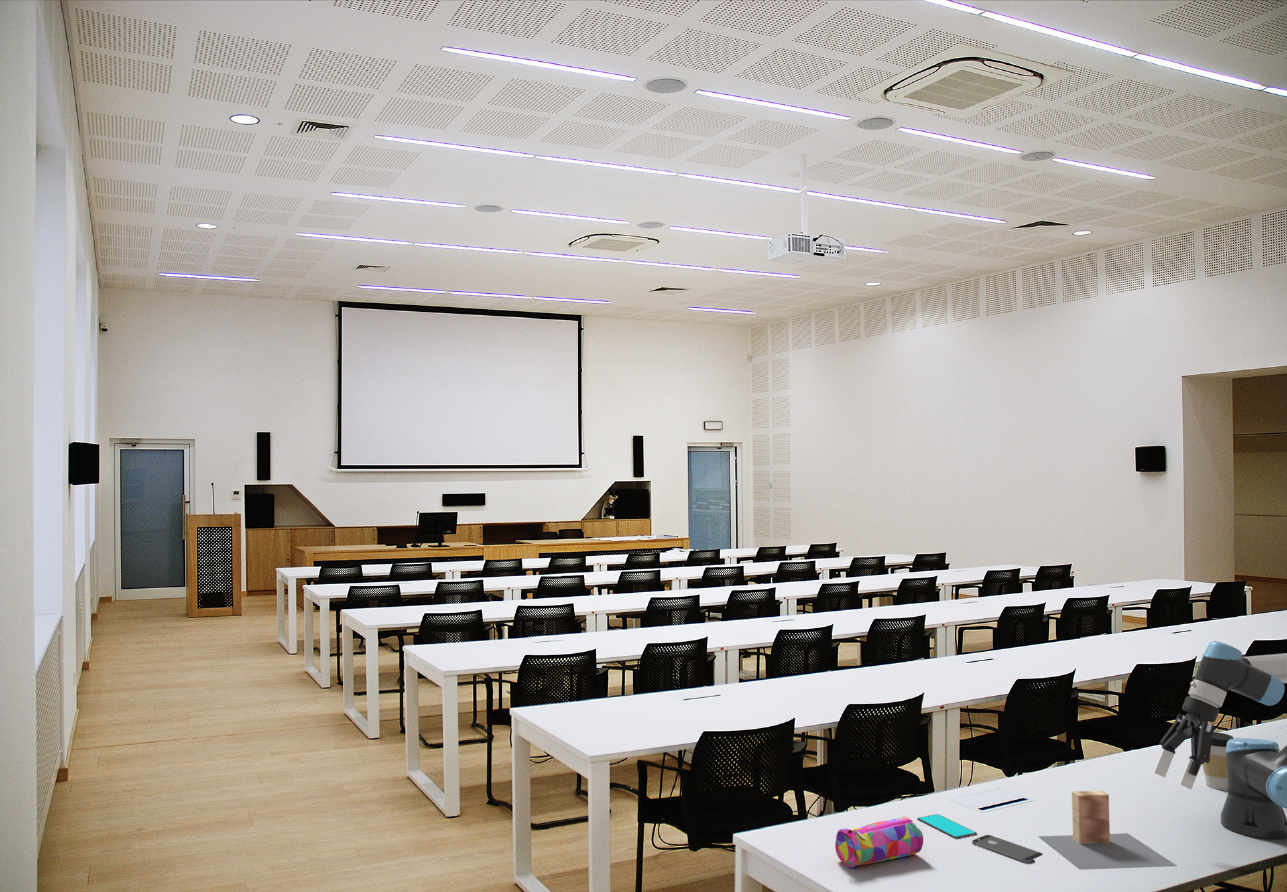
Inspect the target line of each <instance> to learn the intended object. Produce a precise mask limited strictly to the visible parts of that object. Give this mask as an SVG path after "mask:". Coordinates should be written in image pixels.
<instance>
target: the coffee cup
mask: <svg viewBox="0 0 1287 892" xmlns="http://www.w3.org/2000/svg"><path fill="white" fill-rule="evenodd" d="M1230 739H1234V736H1233V735H1231V734H1228V733H1224V732H1215V731H1213V734H1212V743H1211V752H1210V761H1209V763H1204V764H1203V765H1202V770H1203V774H1204V779H1205V784H1206V786H1207V787H1208V788H1211V789H1214V790H1219V789H1220V790H1221V791H1228V786H1227V757H1226V746H1227V742H1228V741H1229V740H1230ZM1204 757H1205V756H1204Z"/></svg>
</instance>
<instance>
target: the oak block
mask: <svg viewBox="0 0 1287 892" xmlns="http://www.w3.org/2000/svg"><path fill="white" fill-rule="evenodd" d="M1071 807H1072V808H1071V809H1072V810H1071V811H1072V815H1071V816H1072V835H1073V840H1075V841H1076V842H1078V843H1079V844H1088V843H1110V834H1111V832H1110V831H1111V829H1110V795H1109V794H1108V793H1107V792H1105V791H1103V790H1082V791H1080V790H1079V791H1078V790H1077V791H1071Z"/></svg>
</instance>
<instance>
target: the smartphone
mask: <svg viewBox="0 0 1287 892" xmlns="http://www.w3.org/2000/svg"><path fill="white" fill-rule="evenodd" d="M916 820H917V821H919V822H920V823H923V824H925V825H926V826H929V827H931V828H933V829H935V830H937V831H940V832H941V833H943V834H945V835H947V834H948V835H947V836H949V837H951V838H953V839H955V838H956V839H955V840H958V839H957V838H959V839H963V838H962V837H964V836H966V837H971V836H970V835H973V834H978V832H977V831H974V830H972V829H970V828H968V827H965V826H963V825H962V824H960V823H958V822H955V821H954V820H952V819H950V818H947V817H945V816H944V815H943V816H942V815H941V814H939V813H936V814H929V815H924V816H921V817H917V819H916ZM973 836H974V835H973ZM964 838H965V837H964Z"/></svg>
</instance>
